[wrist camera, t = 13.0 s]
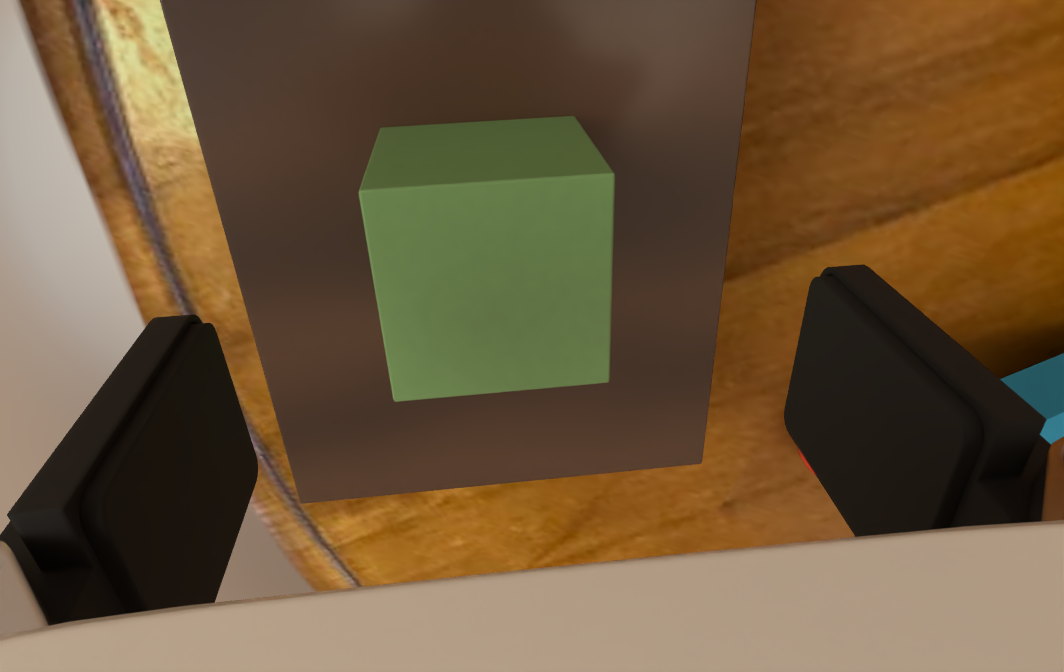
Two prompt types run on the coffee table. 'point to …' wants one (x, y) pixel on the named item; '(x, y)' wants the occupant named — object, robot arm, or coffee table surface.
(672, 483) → the coffee table surface
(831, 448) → the robot arm
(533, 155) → the green toy block
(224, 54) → the block
